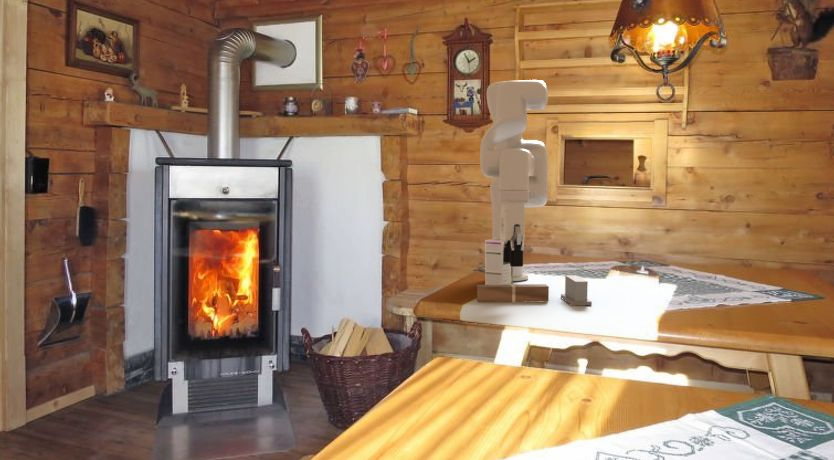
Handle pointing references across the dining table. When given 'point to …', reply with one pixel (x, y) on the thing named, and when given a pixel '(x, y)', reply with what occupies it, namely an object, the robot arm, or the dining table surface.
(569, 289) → the ridge block
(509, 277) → the syrup box
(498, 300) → the beam
